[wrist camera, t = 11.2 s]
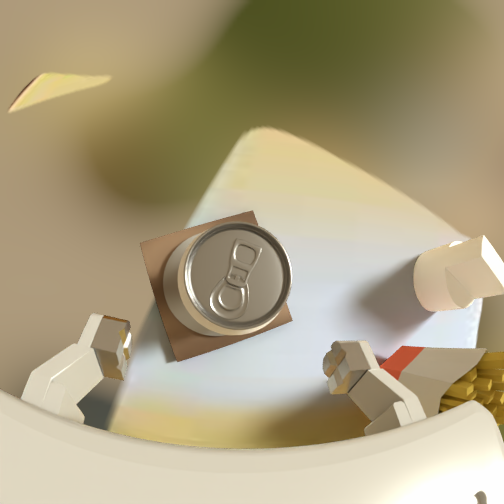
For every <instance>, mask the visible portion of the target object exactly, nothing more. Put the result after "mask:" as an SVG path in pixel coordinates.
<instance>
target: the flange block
mask: <svg viewBox="0 0 504 504" xmlns="http://www.w3.org/2000/svg"><path fill="white" fill-rule="evenodd" d="M232 221H241V222H248V223H252V224H255V225H257V226H258V223H257V221H256V218H255V215H254V213H253V211H249V212H245V213H241V214H238V215H234V216H230V217H227V218H223V219H219V220H216V221H212V222H209V223H205V224H202V225H198V226H195V227H191V228H188V229H184V230H181V231H178V232H174V233H171V234H168V235H164V236H161V237H158V238H155V239H151V240H148V241H145V242H142V243H140V245H141V250H142V253H143V257H144V261H145V265H146V268H147V272H148V275H149V279H150V283H151V286H152V289H153V293H154V296H155V299H156V303H157V306H158V309H159V312H160V315H161V318H162V321H163V324H164V327H165V330H166V333H167V335H168V338H169V341H170V344H171V347H172V349H173V352H174V355H175V357H176V360H177V362H179V361H182V360H186V359H189V358H192V357H195V356H198V355H201V354H204V353H207V352H210V351H213V350H216V349H219V348H222V347H225V346H228V345H231V344H233V343H236V342H239V341H242V340H244V339H247V338H250V337H253V336H255V335H258V334H260V333H263V332H266V331H268V330H271V329H273V328H276V327H278V326H281V325H283V324H286V323H288V322H291V321H293V320H292V318H291V315H290V312H289V309H288V306H287V303H285V305H284V306H283V308H282V309H281V311H280V312H279V313H278V315H277V316H276V317H275V318H274V319H273V320H272V321H271V322H270V323H269V324H267V325H266V326H264V327H263V328H261V329H259V330H257V331H255V332H252V333H248V334H244V335H224V334H220V333H217V332H214V331H211V330H209V329H207V328H205V327H204V326H202V325H201V324H199V323H198V322H197V321H196V320H195V319H194V318H193V317H192V316H191V315H190V314H189V312H188V311H187V309H186V308H185V306H184V304H183V302H182V299H181V297H180V293H179V289H178V269H179V264H180V261H181V258H182V256H183V254H184V252H185V250H186V248H187V247H188V246H189V244H190V243H191V242H192V241H193V240H194V239H195V238H196V237H197V236H198V235H199V234H201V233H202V232H204V231H206V230H207V229H210V228H212V227H214V226H216V225H218V224H221V223H225V222H232Z"/></svg>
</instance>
